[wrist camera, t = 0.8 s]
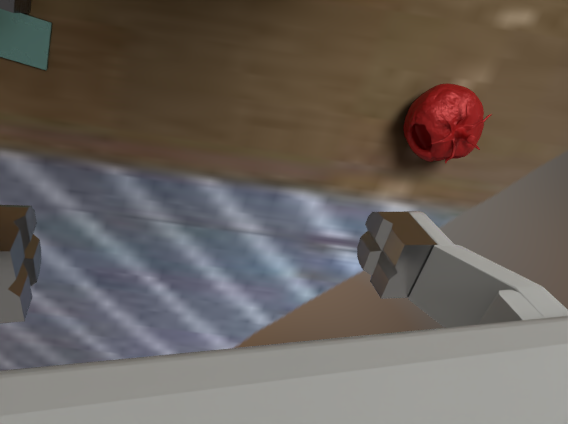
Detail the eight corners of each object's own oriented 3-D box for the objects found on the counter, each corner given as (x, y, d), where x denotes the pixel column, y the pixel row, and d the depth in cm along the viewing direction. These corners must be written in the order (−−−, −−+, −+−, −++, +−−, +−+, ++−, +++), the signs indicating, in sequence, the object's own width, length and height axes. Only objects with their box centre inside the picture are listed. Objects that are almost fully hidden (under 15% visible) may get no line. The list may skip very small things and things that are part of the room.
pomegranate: (432, 63, 52) (474, 73, 44) (479, 110, 56) (526, 127, 47) (380, 126, 54) (411, 146, 46) (429, 166, 58) (465, 192, 50)
